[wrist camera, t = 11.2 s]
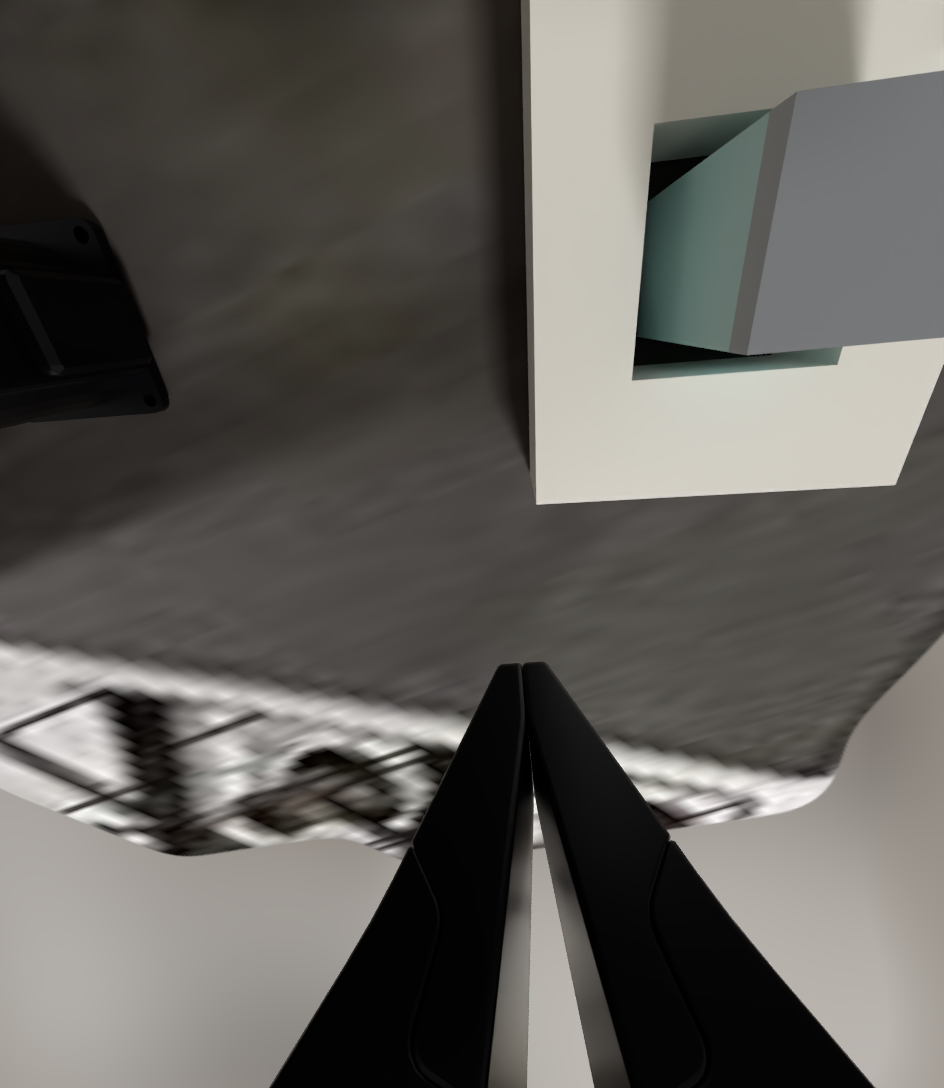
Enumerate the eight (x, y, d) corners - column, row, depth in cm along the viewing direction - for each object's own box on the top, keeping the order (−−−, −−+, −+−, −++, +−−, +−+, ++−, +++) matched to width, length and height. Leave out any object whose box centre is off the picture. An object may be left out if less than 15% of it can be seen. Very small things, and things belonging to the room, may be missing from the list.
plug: (636, 336, 16) (746, 355, 9) (647, 201, 14) (796, 91, 7) (749, 325, 16) (957, 336, 9) (776, 185, 14) (1069, 52, 7)
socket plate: (530, 472, 19) (537, 511, 15) (520, -5, 12) (530, -140, 8) (825, 454, 18) (910, 491, 14) (989, -78, 11) (1229, -269, 7)
